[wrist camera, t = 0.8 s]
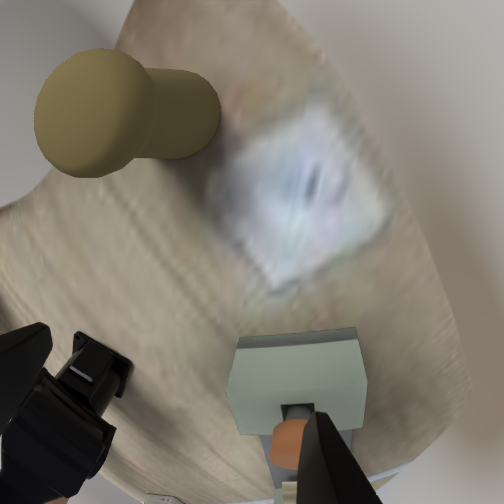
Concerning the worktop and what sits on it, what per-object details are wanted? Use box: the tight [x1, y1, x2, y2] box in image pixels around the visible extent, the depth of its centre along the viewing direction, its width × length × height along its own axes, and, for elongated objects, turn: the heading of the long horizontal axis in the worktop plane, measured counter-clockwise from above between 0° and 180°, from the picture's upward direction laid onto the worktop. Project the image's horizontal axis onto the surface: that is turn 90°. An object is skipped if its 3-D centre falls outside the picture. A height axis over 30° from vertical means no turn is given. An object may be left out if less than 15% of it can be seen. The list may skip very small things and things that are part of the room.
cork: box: [34, 48, 220, 178], centre depth 14 cm, size 6×6×11 cm
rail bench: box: [225, 327, 367, 504], centre depth 26 cm, size 30×9×6 cm, turn 9°
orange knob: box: [270, 403, 310, 470], centre depth 18 cm, size 3×3×4 cm
